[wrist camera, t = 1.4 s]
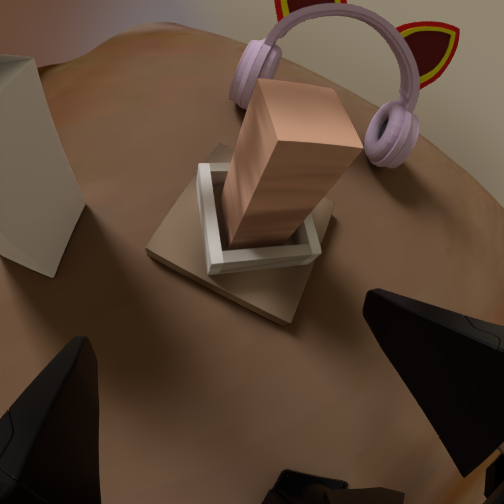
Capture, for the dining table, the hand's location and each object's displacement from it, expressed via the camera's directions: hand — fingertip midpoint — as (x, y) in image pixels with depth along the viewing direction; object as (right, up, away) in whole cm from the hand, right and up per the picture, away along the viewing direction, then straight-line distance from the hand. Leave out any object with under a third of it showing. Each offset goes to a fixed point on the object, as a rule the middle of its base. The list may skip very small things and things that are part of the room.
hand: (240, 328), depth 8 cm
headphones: (+8, +17, +24) cm, 31 cm away
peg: (0, +5, +15) cm, 16 cm away
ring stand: (0, +4, +16) cm, 17 cm away
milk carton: (-18, +4, +12) cm, 22 cm away
